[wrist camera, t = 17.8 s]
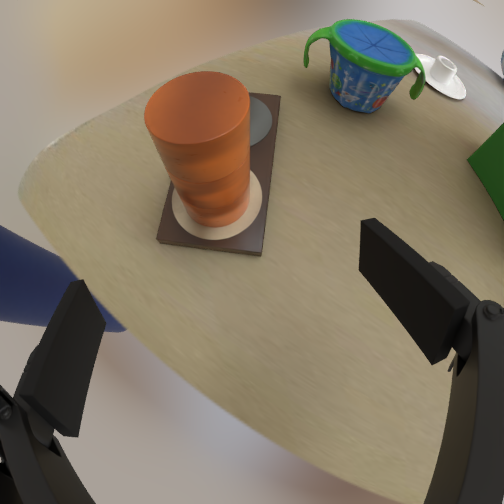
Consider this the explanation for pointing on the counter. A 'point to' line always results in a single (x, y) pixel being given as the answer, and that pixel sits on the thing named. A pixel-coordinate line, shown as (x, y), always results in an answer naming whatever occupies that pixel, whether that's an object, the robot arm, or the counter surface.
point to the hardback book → (491, 166)
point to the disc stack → (204, 143)
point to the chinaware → (502, 63)
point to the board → (253, 220)
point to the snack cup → (366, 63)
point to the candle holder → (442, 75)
